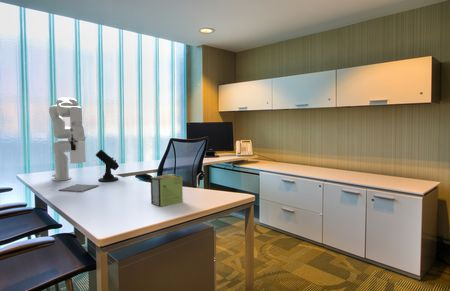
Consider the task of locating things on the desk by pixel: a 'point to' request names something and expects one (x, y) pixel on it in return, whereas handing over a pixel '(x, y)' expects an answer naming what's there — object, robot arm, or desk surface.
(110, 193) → the desk surface
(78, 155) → the milk carton
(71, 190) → the rubber mat
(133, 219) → the desk surface
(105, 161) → the microphone
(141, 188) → the desk surface
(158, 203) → the protein box
